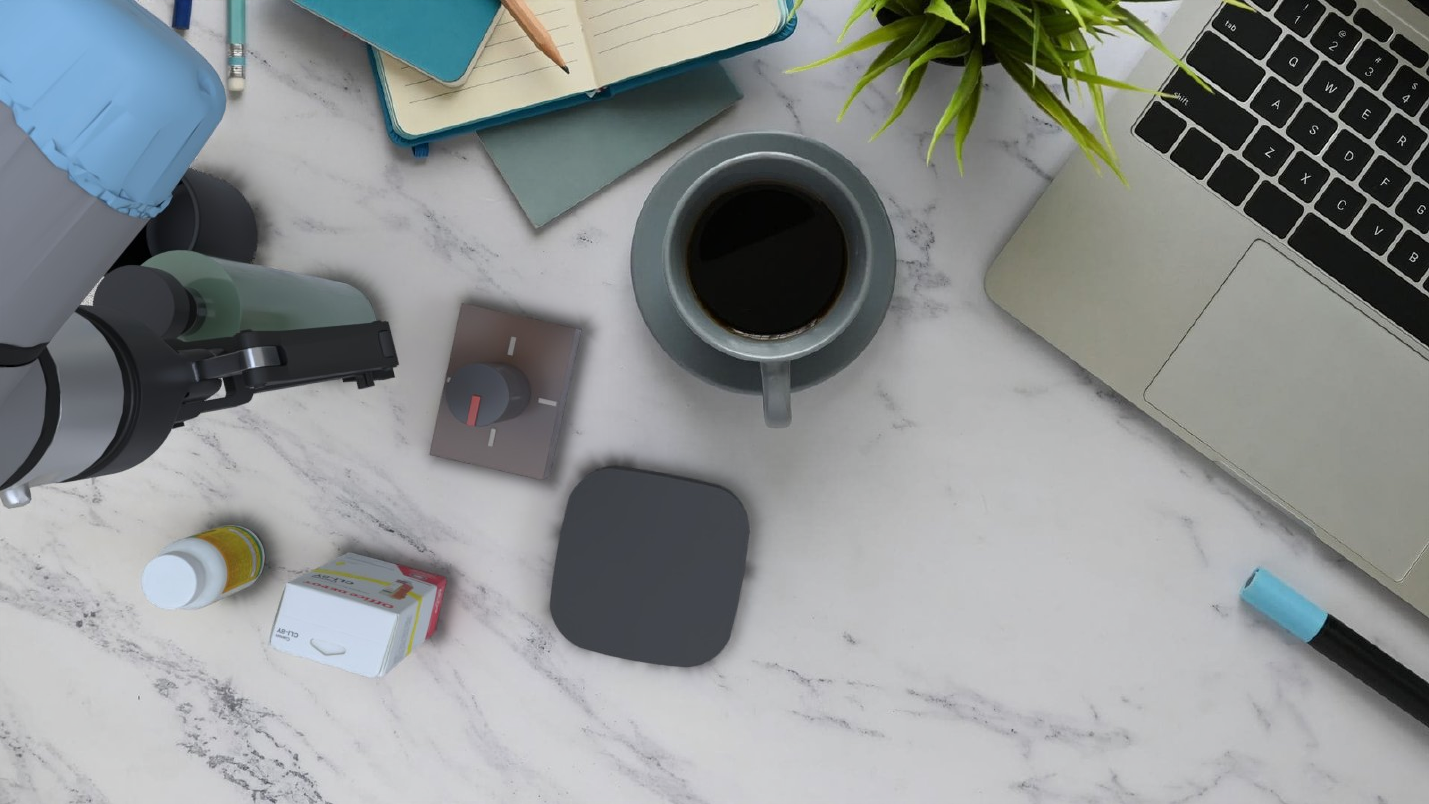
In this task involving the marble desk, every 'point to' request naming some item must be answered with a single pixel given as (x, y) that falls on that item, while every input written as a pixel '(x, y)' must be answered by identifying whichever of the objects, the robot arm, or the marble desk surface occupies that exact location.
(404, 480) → the marble desk surface
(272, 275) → the lotion bottle
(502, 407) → the dial
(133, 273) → the pump head
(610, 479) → the media streaming box
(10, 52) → the robot arm
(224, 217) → the mug
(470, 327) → the dial panel
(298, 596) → the ink box
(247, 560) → the supplement bottle
